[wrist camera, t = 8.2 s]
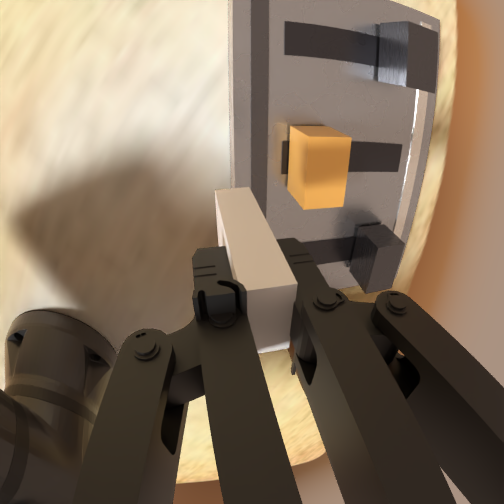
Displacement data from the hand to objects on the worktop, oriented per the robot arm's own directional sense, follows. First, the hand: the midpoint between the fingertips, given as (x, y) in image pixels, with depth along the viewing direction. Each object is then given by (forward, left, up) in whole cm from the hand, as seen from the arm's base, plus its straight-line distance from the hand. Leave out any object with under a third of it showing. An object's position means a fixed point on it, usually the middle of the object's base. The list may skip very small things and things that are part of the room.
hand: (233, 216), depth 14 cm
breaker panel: (+10, +4, -11) cm, 15 cm away
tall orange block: (+6, +3, -9) cm, 11 cm away
